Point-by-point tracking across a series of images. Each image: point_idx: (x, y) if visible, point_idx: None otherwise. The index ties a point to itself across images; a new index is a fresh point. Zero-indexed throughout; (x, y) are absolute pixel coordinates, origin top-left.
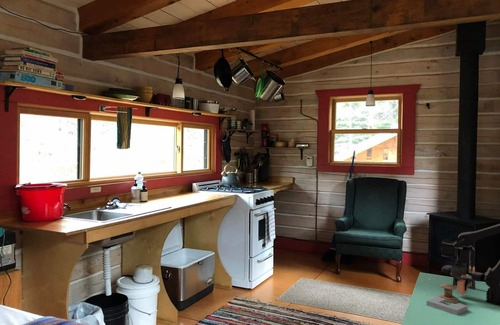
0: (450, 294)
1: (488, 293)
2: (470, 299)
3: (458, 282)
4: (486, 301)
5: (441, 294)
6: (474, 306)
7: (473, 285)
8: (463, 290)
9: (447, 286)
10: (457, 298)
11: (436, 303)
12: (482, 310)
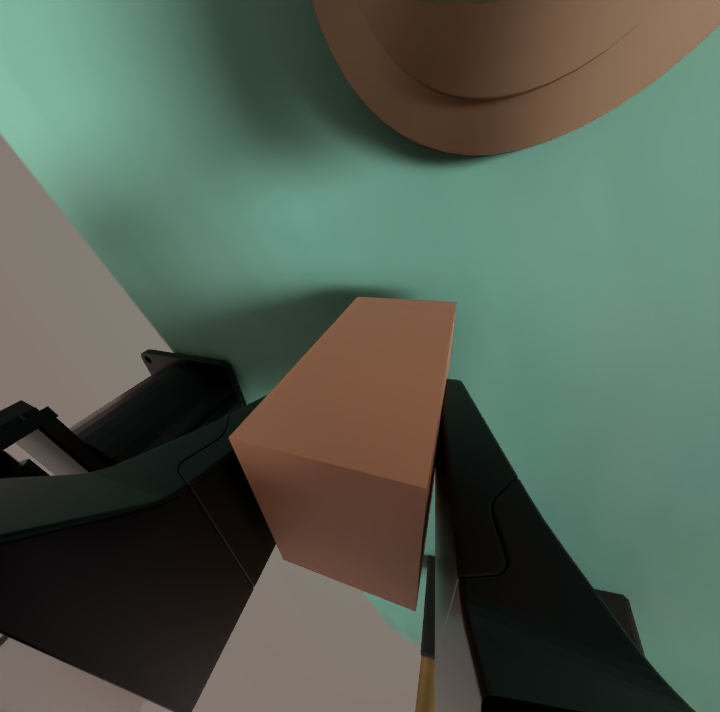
0: None
1: (175, 429)
2: (317, 320)
3: (397, 442)
4: (221, 361)
5: None
6: (138, 90)
7: (434, 592)
8: (332, 331)
9: None
10: (358, 72)
11: None
12: (22, 33)
